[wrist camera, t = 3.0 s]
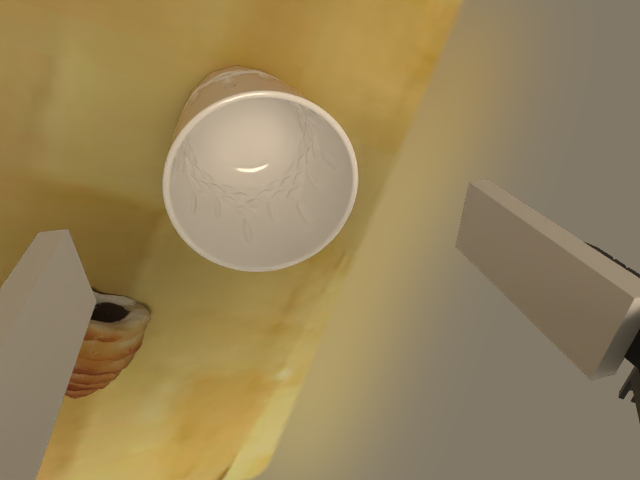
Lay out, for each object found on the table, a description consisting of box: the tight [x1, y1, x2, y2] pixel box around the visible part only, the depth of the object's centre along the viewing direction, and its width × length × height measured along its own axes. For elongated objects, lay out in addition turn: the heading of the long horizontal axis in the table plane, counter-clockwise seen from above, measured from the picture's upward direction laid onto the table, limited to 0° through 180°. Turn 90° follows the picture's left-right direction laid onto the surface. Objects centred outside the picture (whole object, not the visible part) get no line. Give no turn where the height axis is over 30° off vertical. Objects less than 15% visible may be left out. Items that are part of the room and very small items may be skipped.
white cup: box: [162, 65, 358, 272], centre depth 20 cm, size 8×8×10 cm
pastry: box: [65, 291, 151, 399], centre depth 28 cm, size 9×7×4 cm
